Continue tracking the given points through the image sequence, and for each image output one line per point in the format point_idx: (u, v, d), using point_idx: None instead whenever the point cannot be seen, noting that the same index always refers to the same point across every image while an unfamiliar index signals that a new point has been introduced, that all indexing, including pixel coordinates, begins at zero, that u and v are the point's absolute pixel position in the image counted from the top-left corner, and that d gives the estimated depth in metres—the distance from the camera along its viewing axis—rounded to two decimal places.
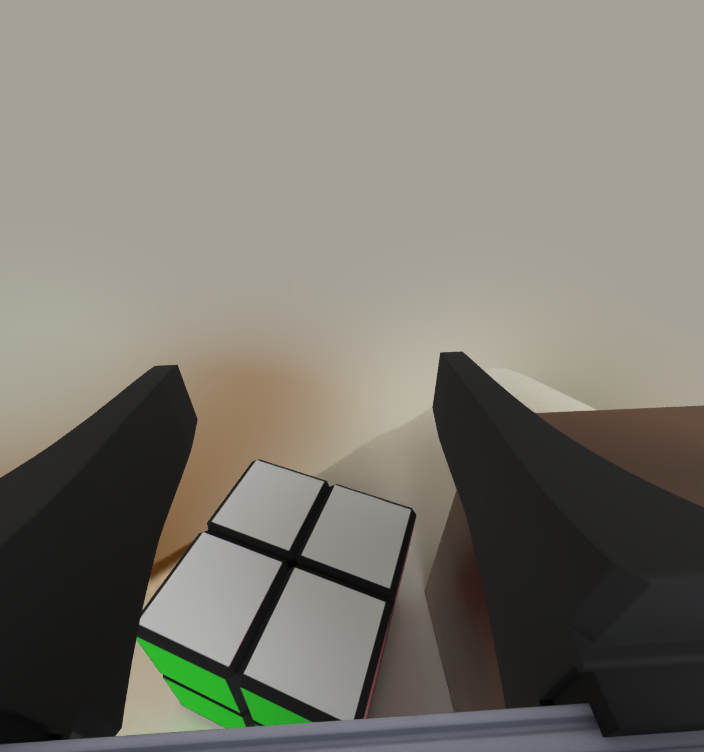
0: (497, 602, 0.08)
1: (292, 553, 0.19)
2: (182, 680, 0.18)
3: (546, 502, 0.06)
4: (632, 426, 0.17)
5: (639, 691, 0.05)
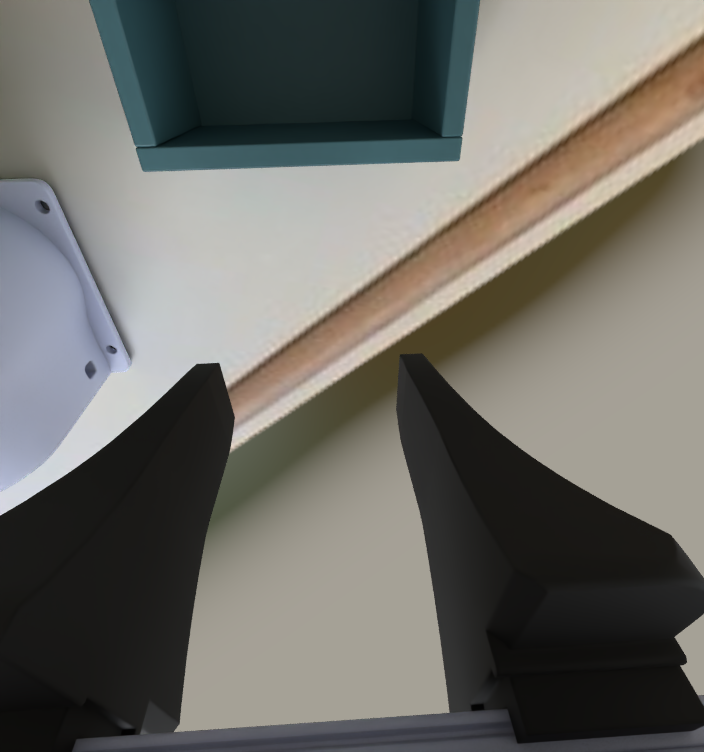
0: (442, 605, 0.08)
1: None
2: None
3: (471, 506, 0.06)
4: None
5: (553, 697, 0.05)
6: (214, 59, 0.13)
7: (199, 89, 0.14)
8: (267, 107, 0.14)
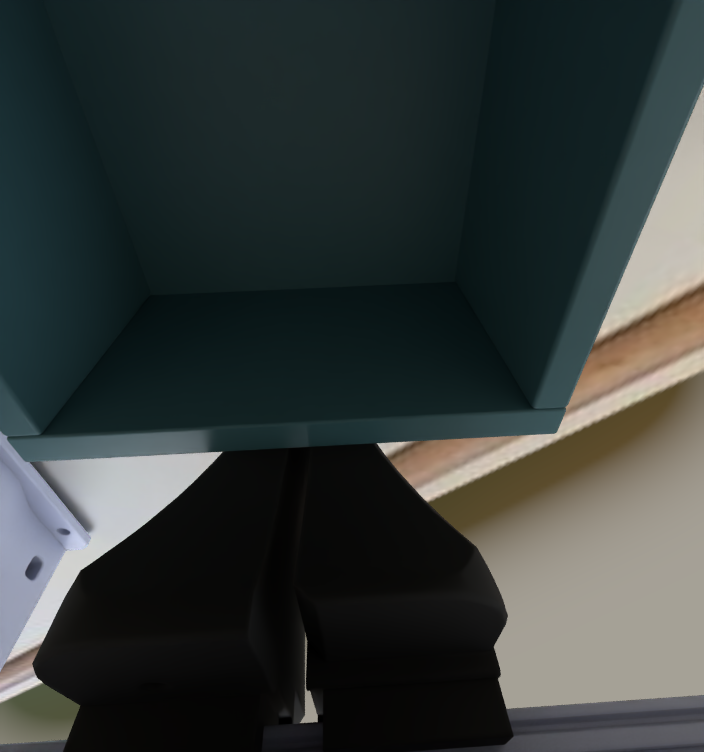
0: None
1: None
2: None
3: None
4: None
5: (361, 710, 0.05)
6: (163, 216, 0.09)
7: (144, 252, 0.09)
8: (245, 272, 0.10)
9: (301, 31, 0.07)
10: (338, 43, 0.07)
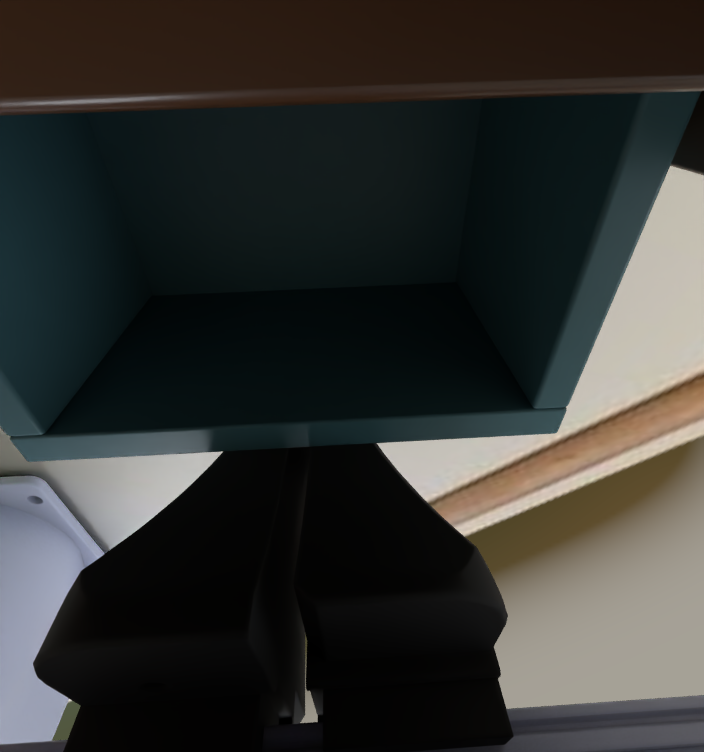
0: None
1: None
2: None
3: None
4: None
5: (361, 710, 0.05)
6: (165, 217, 0.09)
7: (146, 253, 0.09)
8: (247, 272, 0.10)
9: None
10: None
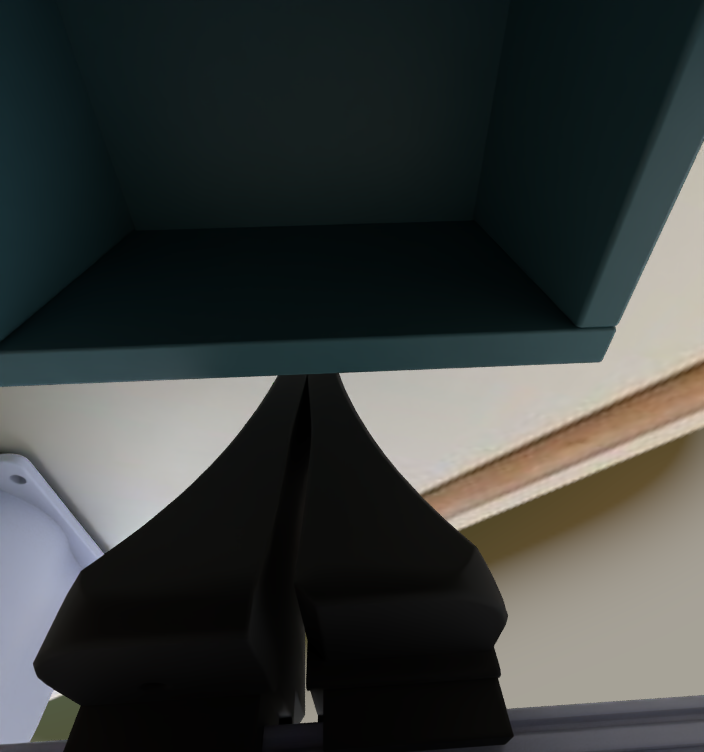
0: None
1: None
2: None
3: None
4: None
5: (361, 710, 0.05)
6: (148, 132, 0.08)
7: (126, 177, 0.08)
8: (241, 204, 0.09)
9: None
10: None
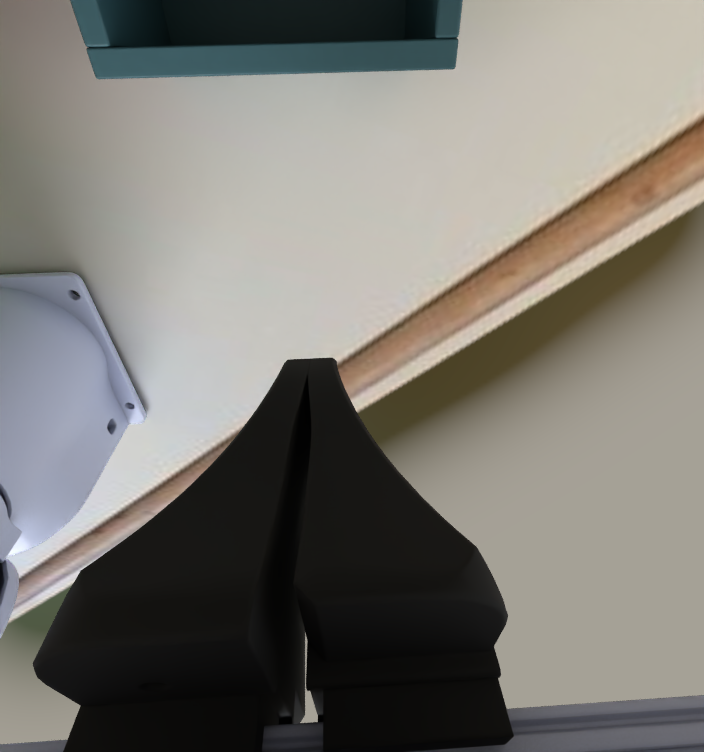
0: None
1: None
2: None
3: None
4: None
5: (361, 710, 0.05)
6: None
7: (169, 8, 0.13)
8: (244, 31, 0.13)
9: None
10: None
